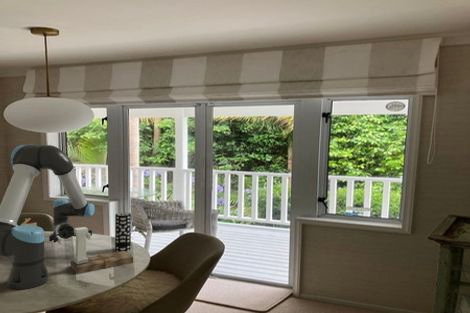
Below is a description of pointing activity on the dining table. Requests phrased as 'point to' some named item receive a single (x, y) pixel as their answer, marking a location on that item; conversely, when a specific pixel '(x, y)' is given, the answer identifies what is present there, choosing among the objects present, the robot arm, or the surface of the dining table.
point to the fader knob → (80, 245)
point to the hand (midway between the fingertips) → (75, 239)
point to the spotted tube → (122, 232)
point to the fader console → (102, 262)
